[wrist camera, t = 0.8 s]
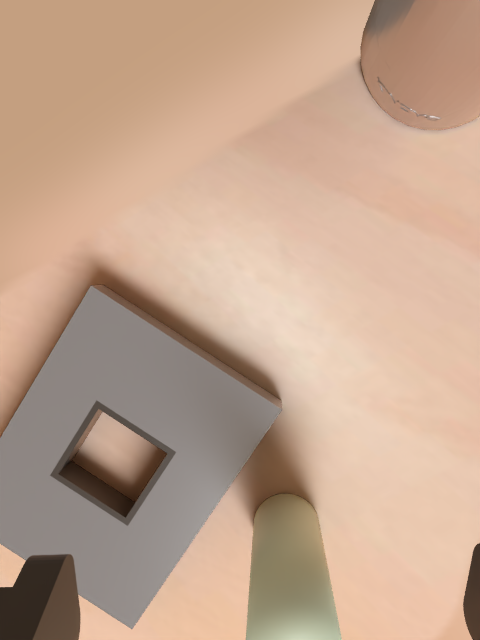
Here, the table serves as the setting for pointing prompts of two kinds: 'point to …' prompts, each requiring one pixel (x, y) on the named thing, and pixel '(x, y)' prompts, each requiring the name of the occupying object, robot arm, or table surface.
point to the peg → (289, 575)
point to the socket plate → (144, 419)
